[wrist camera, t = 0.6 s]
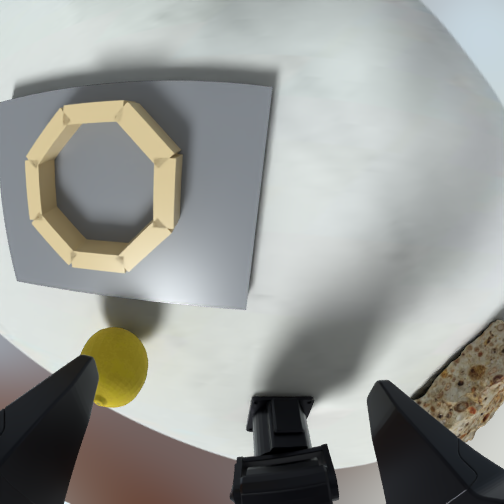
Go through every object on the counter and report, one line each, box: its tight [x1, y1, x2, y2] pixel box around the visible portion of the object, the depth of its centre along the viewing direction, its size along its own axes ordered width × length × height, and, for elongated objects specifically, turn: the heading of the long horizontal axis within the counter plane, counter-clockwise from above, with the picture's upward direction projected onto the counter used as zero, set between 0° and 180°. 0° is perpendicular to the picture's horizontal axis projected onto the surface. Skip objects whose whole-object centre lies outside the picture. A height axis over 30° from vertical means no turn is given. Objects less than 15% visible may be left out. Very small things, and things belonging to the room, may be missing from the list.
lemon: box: [81, 327, 148, 407], centre depth 21 cm, size 6×6×8 cm
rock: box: [413, 320, 504, 442], centre depth 28 cm, size 21×14×10 cm
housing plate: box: [0, 81, 273, 310], centre depth 18 cm, size 15×20×4 cm
